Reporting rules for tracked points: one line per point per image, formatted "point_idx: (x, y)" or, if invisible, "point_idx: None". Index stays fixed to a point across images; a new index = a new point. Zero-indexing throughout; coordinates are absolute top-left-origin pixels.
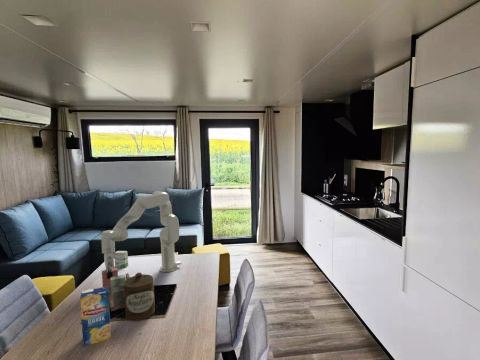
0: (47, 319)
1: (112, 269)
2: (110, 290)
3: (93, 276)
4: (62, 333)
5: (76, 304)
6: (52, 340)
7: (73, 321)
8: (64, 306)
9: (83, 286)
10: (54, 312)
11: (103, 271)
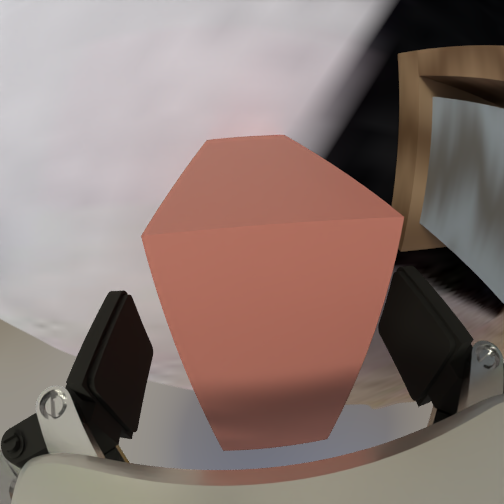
0: (409, 400)
1: (253, 357)
2: (420, 230)
3: (22, 329)
4: (500, 339)
5: (384, 368)
6: (501, 348)
7: (484, 335)
8: (362, 396)
9: (154, 377)
10: (382, 403)
11: (272, 440)
